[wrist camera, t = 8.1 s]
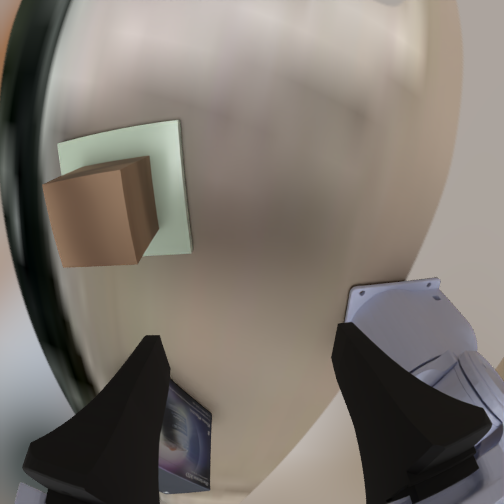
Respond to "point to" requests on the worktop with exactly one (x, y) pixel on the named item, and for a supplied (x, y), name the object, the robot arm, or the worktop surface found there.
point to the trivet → (162, 169)
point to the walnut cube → (103, 213)
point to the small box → (184, 445)
